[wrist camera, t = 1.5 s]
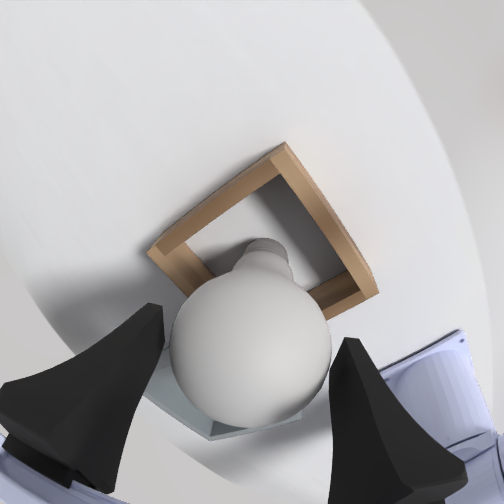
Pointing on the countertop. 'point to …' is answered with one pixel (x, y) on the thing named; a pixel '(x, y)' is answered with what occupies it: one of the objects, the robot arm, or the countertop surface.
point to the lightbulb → (251, 342)
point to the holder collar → (275, 162)
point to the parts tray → (191, 405)
